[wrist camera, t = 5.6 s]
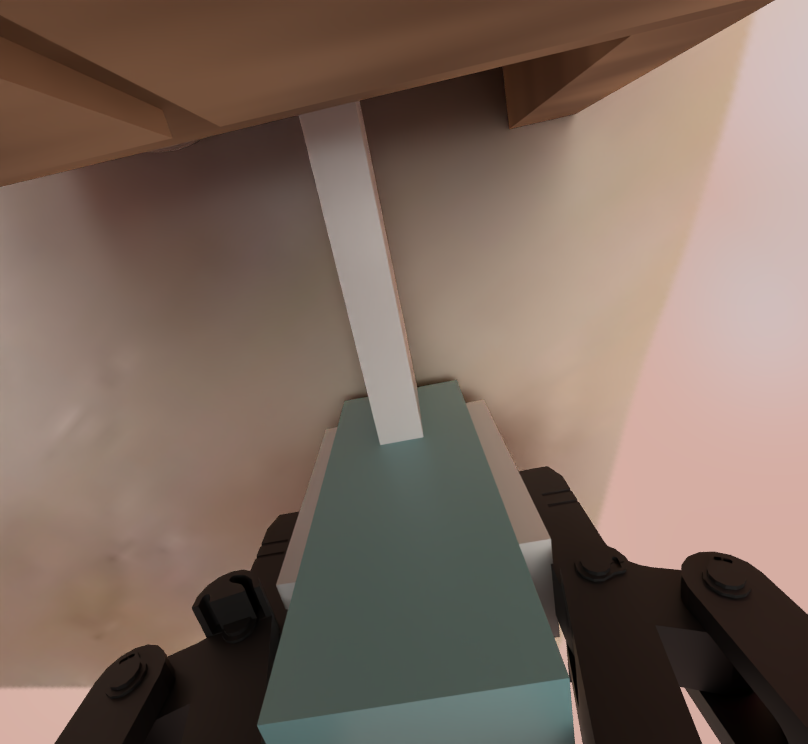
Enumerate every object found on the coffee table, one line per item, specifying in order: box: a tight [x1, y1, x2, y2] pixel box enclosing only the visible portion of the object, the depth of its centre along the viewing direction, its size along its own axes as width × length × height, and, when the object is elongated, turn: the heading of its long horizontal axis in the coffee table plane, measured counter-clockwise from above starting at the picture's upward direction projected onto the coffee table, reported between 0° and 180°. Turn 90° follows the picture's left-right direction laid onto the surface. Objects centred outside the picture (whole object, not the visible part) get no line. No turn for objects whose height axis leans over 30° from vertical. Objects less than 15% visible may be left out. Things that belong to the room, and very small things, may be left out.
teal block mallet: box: [257, 101, 575, 744], centre depth 9 cm, size 4×16×10 cm, turn 11°
